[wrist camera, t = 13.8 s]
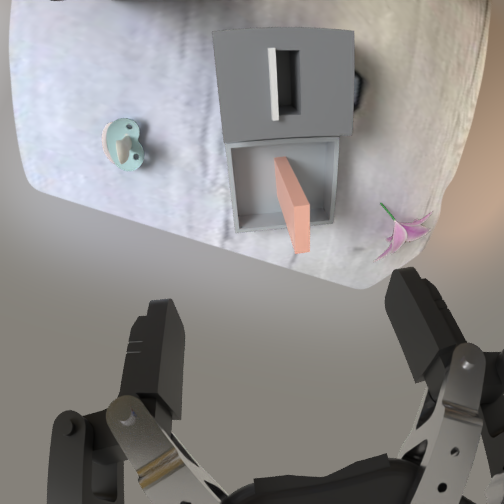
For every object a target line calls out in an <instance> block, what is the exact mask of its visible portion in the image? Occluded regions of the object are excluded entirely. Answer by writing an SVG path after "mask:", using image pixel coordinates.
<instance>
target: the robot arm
mask: <svg viewBox="0 0 504 504" xmlns="http://www.w3.org/2000/svg"><path fill="white" fill-rule="evenodd" d="M385 309H386V312H387V315H388V317H389V319H390V321H391V324H392V326H393V328H394V331H395V333H396V335H397V338H398V340H399V343H400V345H401V347H402V350H403V352H404V355H405V357H406V360H407V362H408V365H409V368H410V370H411V373H412V375H413V378H414V381H415V383H419V382H421V381H426V384H427V387H426V389H425V392H424V395H423V398H422V401H421V404H420V407H419V410H418V413H417V416H416V419H415V422H414V425H413V427H412V430H411V432H410V434H409V436H408V437H407V438H406V440H405V442H404V443H403V445H402V447H401V449H400V451H399V454H398V456H397V458H388V456H387V453H386V454H382V455H379V456H376V457H372V458H368V459H365V460H361V461H357V462H355V463H353V464H351V465H349V466H347V467H345V468H343V469H341V470H339V471H337V472H334V473H332V474H330V475H328V476H325V477H307V476H294V475H284V476H275V477H267V478H255V479H254V483H252V484H248V485H246V486H244V487H242V488H240V489H238V490H237V491H235V492H233V493H232V494H231V495H228V494H227V493H226V491H225V490H224V489H223V488H222V487H221V486H220V485H219V484H218V483H217V482H216V481H215V480H214V479H213V478H212V477H211V476H210V475H209V474H208V473H207V472H206V471H205V470H204V469H203V468H202V467H201V466H200V465H199V464H198V463H197V462H196V460H195V459H194V458H193V457H192V456H191V454H190V453H189V452H188V451H187V449H186V448H185V447H184V446H183V445H182V443H181V442H180V441H179V440H178V438H177V437H176V436H175V435H174V433H173V432H172V431H171V430H172V420H181V410H182V409H181V408H182V384H183V364H184V349H185V332H184V327H183V324H182V321H181V319H180V317H179V314H178V312H177V310H176V307H175V305H174V302H173V301H172V299H162V300H152V301H150V303H149V307H148V312H147V316H139V317H138V318H137V320H136V322H135V323H134V325H133V326H132V328H131V332H130V337H129V344H128V347H127V354H126V358H125V363H124V369H123V375H122V381H121V387H120V392H119V395H118V397H117V398H116V399H115V400H113V401H112V402H111V404H110V405H109V406H108V408H107V409H105V410H103V411H99V412H96V413H92V414H88V415H85V416H81V415H80V414H79V413H77V412H75V411H72V410H69V411H64V412H62V413H61V414H60V415H58V417H57V418H56V419H55V421H54V424H53V429H52V437H51V446H50V456H49V468H48V485H47V504H124V466H123V465H124V461H125V460H129V461H130V462H131V464H132V465H133V467H134V469H135V470H136V472H137V473H138V476H139V479H138V482H139V484H140V486H141V488H142V489H143V491H144V493H145V494H146V495H147V497H148V498H149V499H150V501H151V502H152V503H153V504H476V503H474V502H472V501H471V500H469V499H467V498H466V497H464V496H463V495H462V494H463V491H464V488H465V486H466V483H467V480H468V477H469V474H470V471H471V468H472V464H473V461H474V458H475V454H476V451H477V447H478V443H479V440H480V435H482V439H483V443H484V446H485V451H486V455H487V459H488V463H489V468H490V473H491V478H492V479H491V481H490V483H489V486H488V487H487V488H486V489H485V492H484V495H485V497H486V498H487V503H486V504H504V395H503V394H504V349H503V351H502V352H482V350H481V349H480V348H479V347H478V346H476V345H474V344H472V343H467V341H466V340H465V338H464V336H463V334H462V332H461V331H460V329H459V327H458V325H457V323H456V321H455V319H454V318H453V316H452V314H451V312H450V310H449V309H447V305H446V304H445V302H444V300H442V297H441V295H440V293H439V291H438V290H437V288H436V287H435V286H434V285H433V284H432V283H430V282H429V281H428V280H427V279H426V278H425V279H421V277H420V276H419V274H418V272H417V271H416V269H415V268H414V267H407V268H401V269H395V270H394V271H393V272H392V275H391V279H390V282H389V286H388V289H387V293H386V296H385Z"/></svg>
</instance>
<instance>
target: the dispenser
mask: <svg viewBox="0 0 504 504" xmlns="http://www.w3.org/2000/svg"><path fill="white" fill-rule="evenodd" d="M212 35H213V46H214V56H215V65H216V75H217V85H218V94H219V103H220V113H221V122H222V131H223V140H224V143H228V142H238V141H248V140H260V139H273V138H288V137H308V136H352V129H353V109H354V31H350V30H340V29H327V28H307V27H266V28H245V29H232V30H222V31H213V32H212Z"/></svg>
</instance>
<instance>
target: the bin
mask: <svg viewBox="0 0 504 504" xmlns="http://www.w3.org/2000/svg"><path fill="white" fill-rule="evenodd" d="M339 138H340V137H339V136H308V137H288V138H273V139H260V140H248V141H238V142H228V143H225V149H226V158H227V166H228V175H229V184H230V192H231V201H232V209H233V217H234V226H235V233H243V232H253V231H262V230H272V229H282V228H287V225H286V222H285V219H284V216H283V213H282V210H281V207H280V204H279V201H278V198H277V189H276V176H275V164H274V158H276V157H284V156H286V158H287V160H288V162H289V164H290V166H291V168H292V170H293V172H294V174H295V175H296V177H297V179H298V182H299V184H300V186H301V188H302V190H303V192H304V194H305V196H306V198H307V200H308V202H309V204H310V226H312V225H322V224H333V221H334V210H335V199H336V187H337V173H338V157H339Z"/></svg>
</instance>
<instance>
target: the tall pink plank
mask: <svg viewBox="0 0 504 504" xmlns="http://www.w3.org/2000/svg"><path fill="white" fill-rule="evenodd" d="M274 164H275V176H276V189H277V198H278V201H279V204H280V207H281V210H282V213H283V216H284V219H285V222H286V225H287V229H288V232H289V235H290V238H291V241H292V244H293V248H294V251H295V254H298V253H305V252H310V204H309V202H308V200H307V198H306V196H305V194H304V192H303V190H302V188H301V186H300V184H299V182H298V179H297V177H296V175H295V174H294V172H293V170H292V168H291V166H290V164H289V162H288V160H287V158H286V156H284V157H276V158H274Z"/></svg>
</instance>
